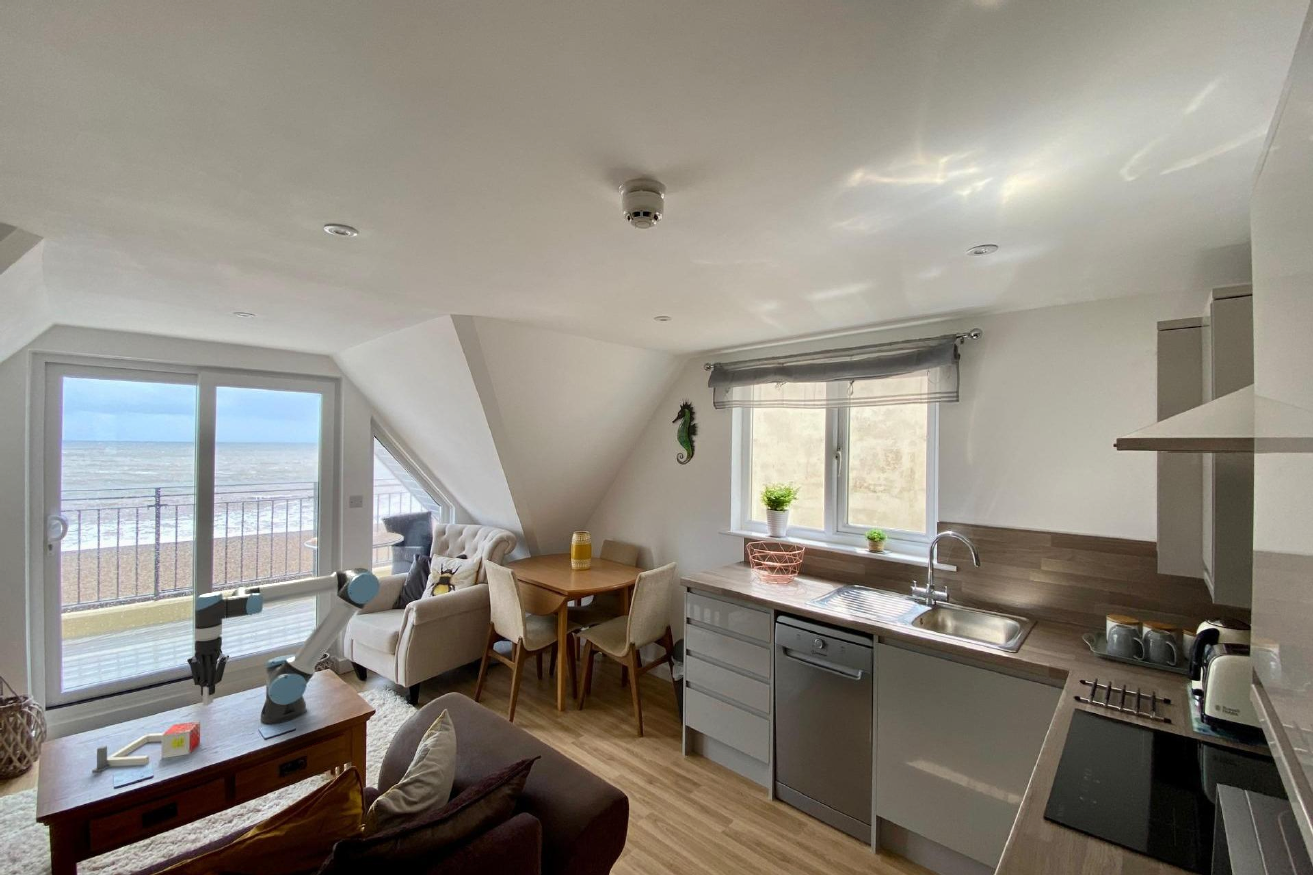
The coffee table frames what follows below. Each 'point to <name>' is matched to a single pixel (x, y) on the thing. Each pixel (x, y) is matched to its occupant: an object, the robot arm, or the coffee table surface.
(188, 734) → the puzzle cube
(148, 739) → the keeper bracket
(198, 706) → the coffee table surface
